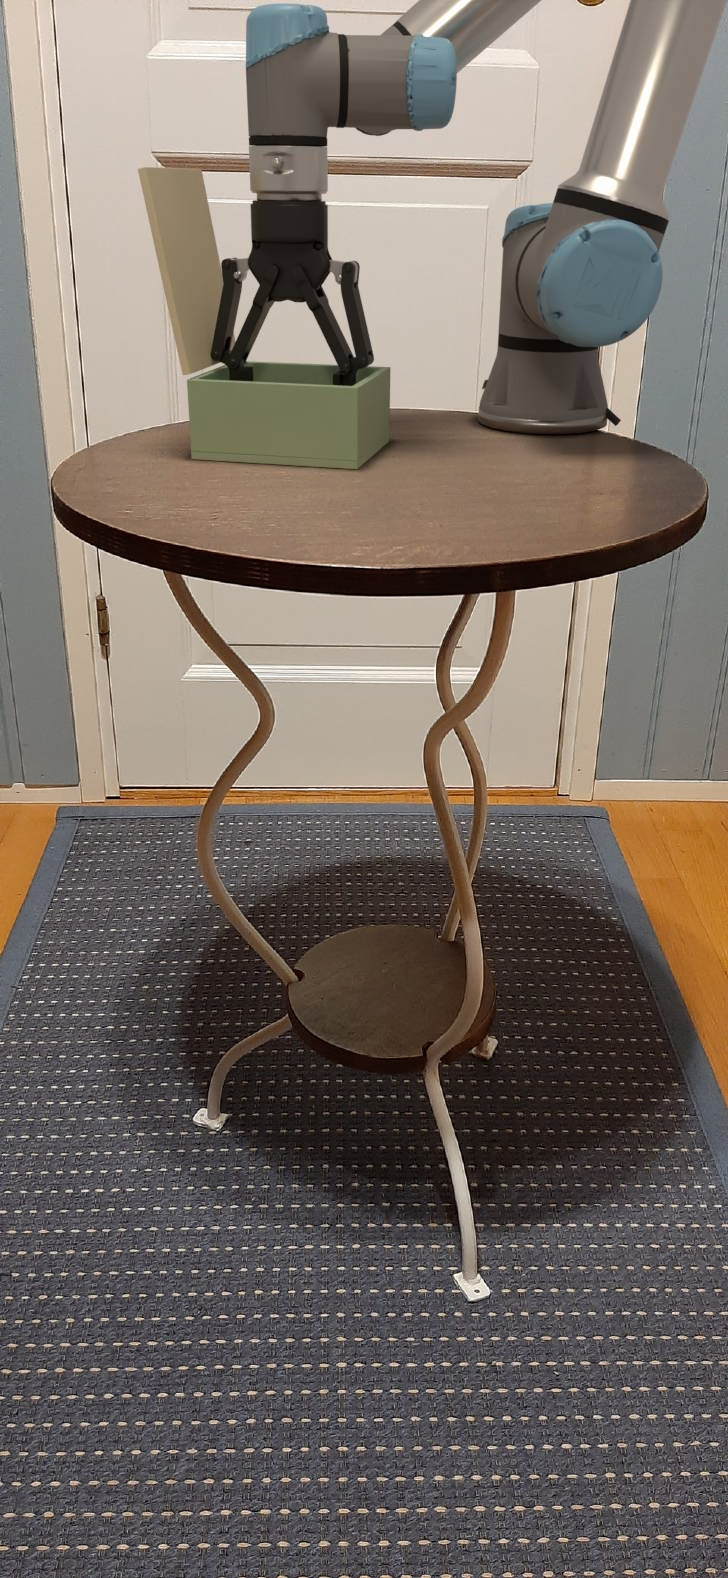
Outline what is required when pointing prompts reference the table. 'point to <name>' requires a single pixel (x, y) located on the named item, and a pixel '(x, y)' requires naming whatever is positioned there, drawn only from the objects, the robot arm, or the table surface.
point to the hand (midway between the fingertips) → (293, 434)
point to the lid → (185, 259)
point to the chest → (289, 415)
